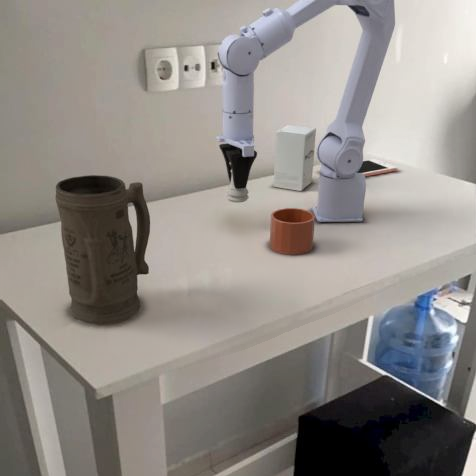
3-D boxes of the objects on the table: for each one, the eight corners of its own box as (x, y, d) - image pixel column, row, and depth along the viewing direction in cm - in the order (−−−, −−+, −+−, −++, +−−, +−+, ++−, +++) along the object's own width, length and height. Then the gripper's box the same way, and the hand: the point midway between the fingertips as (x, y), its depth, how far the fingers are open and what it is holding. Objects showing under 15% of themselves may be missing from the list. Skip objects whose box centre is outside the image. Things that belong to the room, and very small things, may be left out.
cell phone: (397, 170, 160) (398, 167, 160) (341, 181, 153) (341, 177, 152) (375, 162, 167) (375, 158, 166) (319, 171, 159) (319, 168, 159)
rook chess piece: (236, 204, 123) (236, 162, 118) (221, 198, 126) (221, 157, 121) (253, 199, 126) (254, 158, 121) (238, 194, 128) (238, 153, 124)
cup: (309, 237, 124) (311, 207, 121) (315, 254, 118) (318, 223, 114) (268, 238, 124) (269, 208, 120) (272, 255, 117) (273, 223, 114)
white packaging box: (302, 191, 147) (305, 134, 139) (272, 187, 149) (274, 130, 142) (312, 183, 152) (317, 127, 145) (284, 178, 155) (287, 123, 147)
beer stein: (105, 333, 93) (95, 196, 83) (53, 314, 98) (37, 182, 87) (168, 300, 105) (167, 175, 94) (119, 284, 109) (112, 163, 98)
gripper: (207, 103, 121) (209, 175, 129) (227, 120, 110) (227, 198, 118) (242, 101, 122) (242, 173, 130) (266, 118, 111) (263, 195, 119)
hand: (237, 185), depth 124 cm, fingers closed on rook chess piece, 3 cm apart
